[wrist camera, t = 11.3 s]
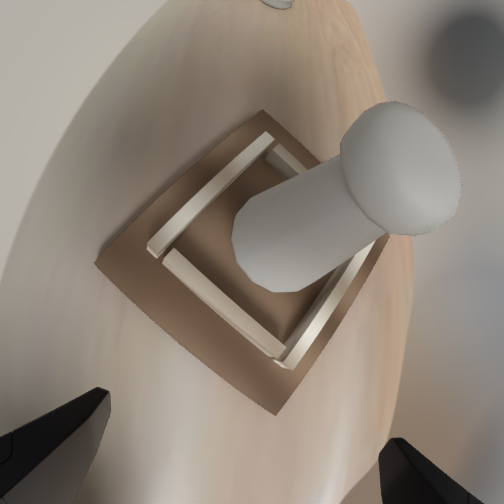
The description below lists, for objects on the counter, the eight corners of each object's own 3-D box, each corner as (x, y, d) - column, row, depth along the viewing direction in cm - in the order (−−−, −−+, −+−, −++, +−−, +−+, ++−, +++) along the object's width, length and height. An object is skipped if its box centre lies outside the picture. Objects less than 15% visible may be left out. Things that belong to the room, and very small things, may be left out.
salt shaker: (276, 315, 19) (468, 291, 7) (201, 255, 18) (320, 130, 6) (321, 244, 21) (488, 166, 9) (257, 188, 20) (388, 50, 8)
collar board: (269, 412, 18) (285, 422, 16) (96, 266, 17) (89, 257, 14) (381, 239, 24) (402, 231, 22) (257, 116, 23) (270, 97, 21)
